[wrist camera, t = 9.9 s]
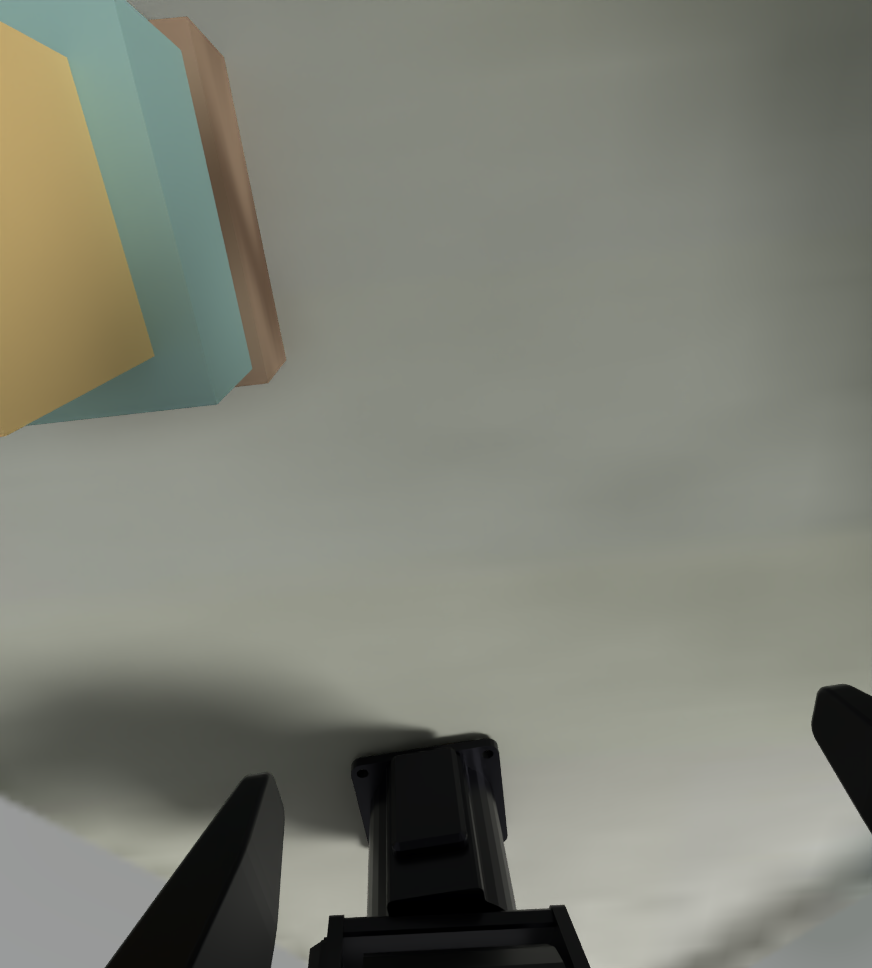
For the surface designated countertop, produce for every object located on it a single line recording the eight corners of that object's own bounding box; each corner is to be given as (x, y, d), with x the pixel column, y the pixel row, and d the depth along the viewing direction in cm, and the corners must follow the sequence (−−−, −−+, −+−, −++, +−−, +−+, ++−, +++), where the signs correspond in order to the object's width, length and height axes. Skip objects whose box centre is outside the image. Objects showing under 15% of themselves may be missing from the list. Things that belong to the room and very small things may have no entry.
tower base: (287, 357, 19) (268, 382, 16) (38, 386, 18) (-34, 418, 15) (227, 61, 16) (186, 16, 12) (-76, 91, 15) (-199, 52, 12)
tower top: (252, 368, 15) (217, 404, 12) (-16, 398, 15) (-123, 442, 12) (181, 50, 13) (110, -14, 9) (-149, 80, 12) (-338, 26, 9)
